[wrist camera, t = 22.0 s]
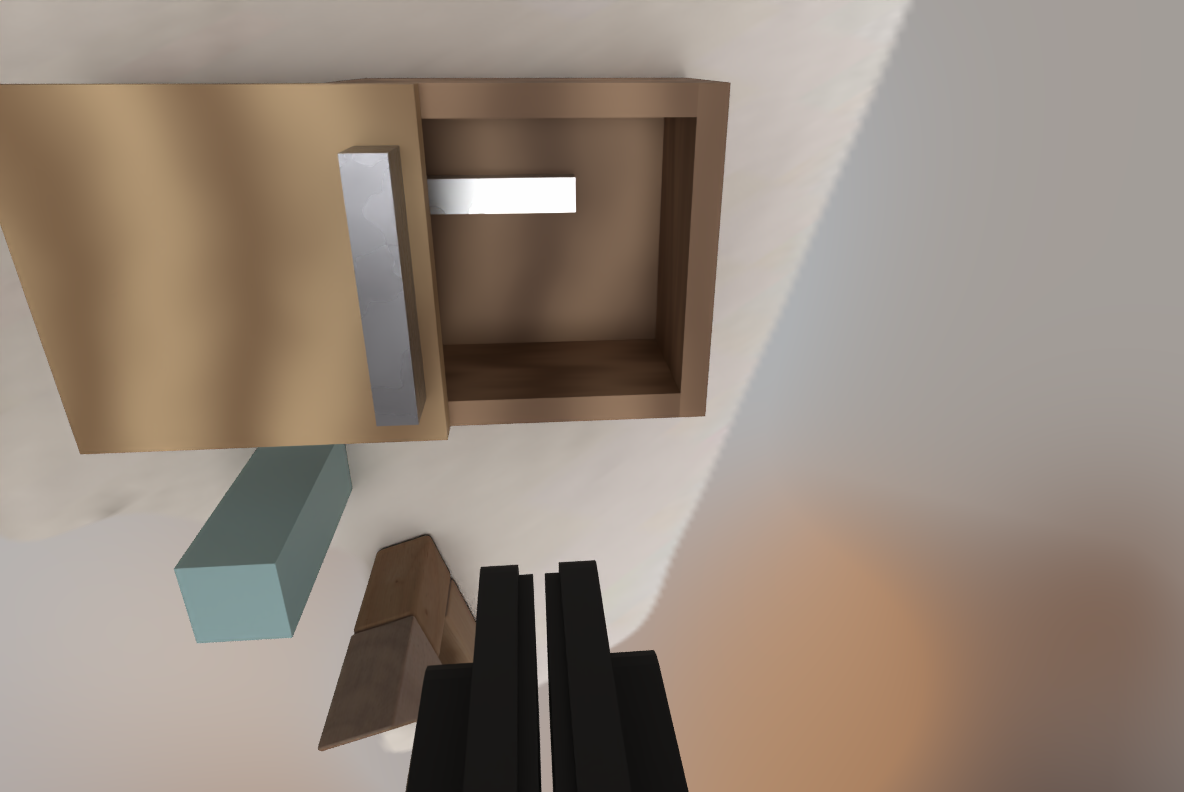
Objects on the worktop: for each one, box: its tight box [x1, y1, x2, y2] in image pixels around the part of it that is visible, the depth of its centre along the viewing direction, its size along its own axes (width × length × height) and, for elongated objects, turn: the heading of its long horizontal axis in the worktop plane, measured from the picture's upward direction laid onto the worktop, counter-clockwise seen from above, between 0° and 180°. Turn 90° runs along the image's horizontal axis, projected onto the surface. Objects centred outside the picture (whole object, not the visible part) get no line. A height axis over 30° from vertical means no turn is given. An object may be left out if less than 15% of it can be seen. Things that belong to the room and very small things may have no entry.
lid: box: [0, 83, 450, 454], centre depth 27 cm, size 15×14×4 cm
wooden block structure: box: [318, 536, 476, 789], centre depth 38 cm, size 4×11×18 cm, turn 18°
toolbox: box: [328, 78, 730, 426], centre depth 33 cm, size 15×14×8 cm
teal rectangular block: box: [174, 444, 352, 643], centre depth 36 cm, size 4×4×12 cm
